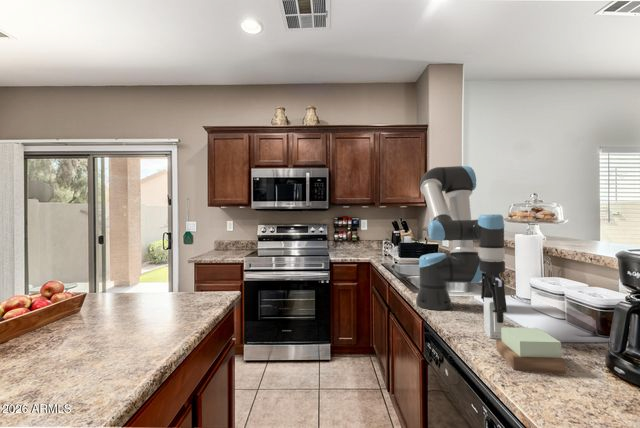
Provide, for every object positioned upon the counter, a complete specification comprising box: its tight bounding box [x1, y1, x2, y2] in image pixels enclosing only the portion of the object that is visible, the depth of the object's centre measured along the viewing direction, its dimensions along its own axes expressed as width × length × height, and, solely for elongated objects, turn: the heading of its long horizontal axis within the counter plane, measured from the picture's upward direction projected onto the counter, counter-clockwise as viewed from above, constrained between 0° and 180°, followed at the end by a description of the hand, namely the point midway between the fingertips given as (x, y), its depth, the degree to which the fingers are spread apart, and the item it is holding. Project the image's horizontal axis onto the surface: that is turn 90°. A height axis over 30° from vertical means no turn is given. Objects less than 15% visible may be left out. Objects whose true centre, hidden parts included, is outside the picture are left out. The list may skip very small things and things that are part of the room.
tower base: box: [495, 338, 567, 374], centre depth 84 cm, size 12×12×4 cm
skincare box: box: [483, 297, 502, 340], centre depth 102 cm, size 6×4×12 cm
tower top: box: [501, 327, 562, 358], centre depth 84 cm, size 10×10×4 cm
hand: (493, 326), depth 102 cm, fingers open, 9 cm apart
